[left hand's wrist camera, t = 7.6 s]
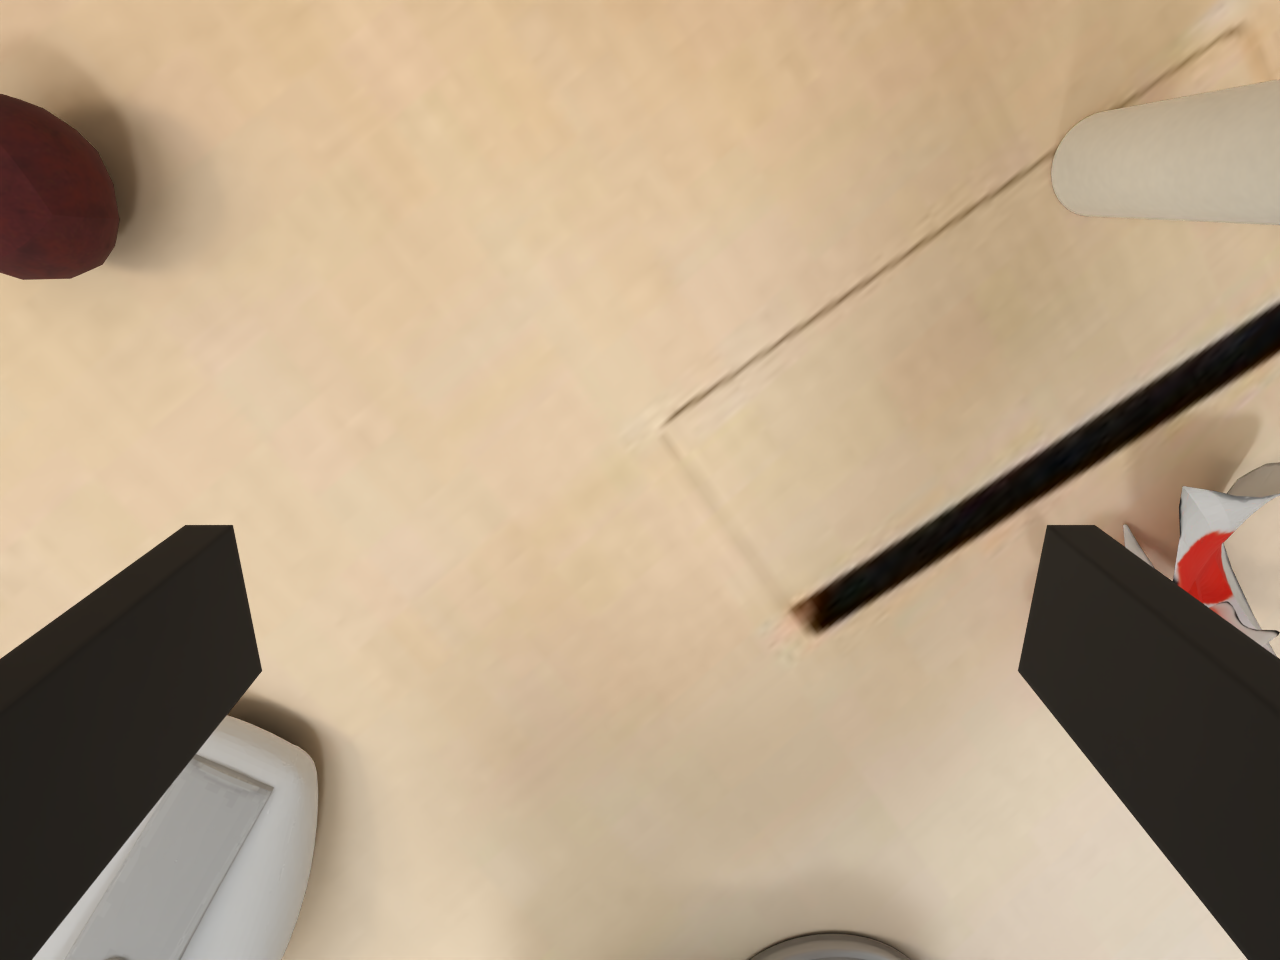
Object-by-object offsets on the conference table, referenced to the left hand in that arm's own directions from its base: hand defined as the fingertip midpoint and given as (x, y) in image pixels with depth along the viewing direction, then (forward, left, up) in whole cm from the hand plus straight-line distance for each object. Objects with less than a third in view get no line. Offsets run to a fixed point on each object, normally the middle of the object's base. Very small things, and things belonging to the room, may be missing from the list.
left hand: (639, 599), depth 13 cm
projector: (-33, +29, -28) cm, 52 cm away
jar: (+8, -22, -28) cm, 36 cm away
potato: (+6, +27, -28) cm, 39 cm away
